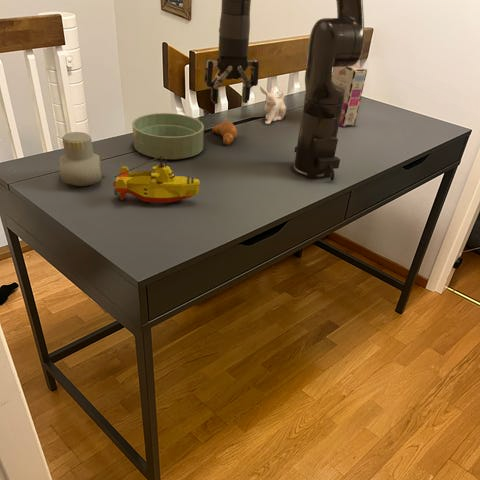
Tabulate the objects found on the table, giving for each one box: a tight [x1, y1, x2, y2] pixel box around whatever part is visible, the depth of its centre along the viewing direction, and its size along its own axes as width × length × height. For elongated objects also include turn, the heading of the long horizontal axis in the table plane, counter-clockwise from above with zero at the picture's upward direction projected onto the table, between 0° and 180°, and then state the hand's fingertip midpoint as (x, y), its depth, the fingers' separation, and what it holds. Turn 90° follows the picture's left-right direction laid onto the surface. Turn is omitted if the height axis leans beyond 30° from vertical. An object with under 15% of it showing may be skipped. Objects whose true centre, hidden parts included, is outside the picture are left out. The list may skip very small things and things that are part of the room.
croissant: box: [211, 120, 238, 146], centre depth 132 cm, size 5×11×4 cm, turn 21°
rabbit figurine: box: [259, 83, 287, 125], centre depth 147 cm, size 12×8×10 cm, turn 138°
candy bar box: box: [332, 64, 368, 128], centre depth 148 cm, size 11×5×16 cm, turn 25°
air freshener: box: [59, 131, 103, 187], centre depth 103 cm, size 11×8×10 cm
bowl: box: [131, 112, 205, 160], centre depth 123 cm, size 18×18×6 cm
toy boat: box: [112, 156, 201, 204], centre depth 99 cm, size 6×18×10 cm, turn 93°
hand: (230, 102), depth 128 cm, fingers open, 8 cm apart
